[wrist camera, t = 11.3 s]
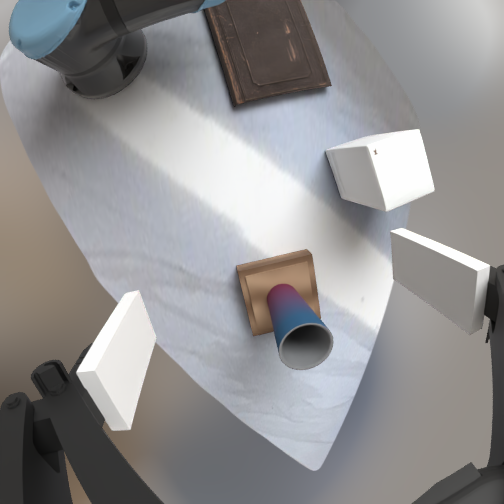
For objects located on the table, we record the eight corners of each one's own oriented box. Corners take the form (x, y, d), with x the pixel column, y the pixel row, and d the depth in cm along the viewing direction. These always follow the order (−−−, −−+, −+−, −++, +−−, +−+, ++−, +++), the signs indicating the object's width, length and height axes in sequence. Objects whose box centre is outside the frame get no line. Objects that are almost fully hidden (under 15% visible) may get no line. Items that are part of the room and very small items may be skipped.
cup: (309, 303, 50) (341, 352, 36) (273, 323, 51) (293, 378, 36) (291, 270, 49) (320, 312, 34) (253, 291, 49) (268, 342, 34)
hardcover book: (287, -18, 38) (290, -24, 36) (327, 88, 45) (331, 85, 43) (199, -5, 38) (198, -11, 36) (233, 107, 45) (234, 104, 42)
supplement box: (340, 200, 50) (385, 214, 36) (323, 149, 47) (364, 144, 33) (384, 183, 50) (436, 192, 36) (369, 134, 47) (420, 127, 33)
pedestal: (236, 265, 51) (237, 272, 48) (306, 249, 51) (312, 254, 48) (251, 327, 54) (253, 337, 51) (315, 311, 55) (321, 319, 52)
